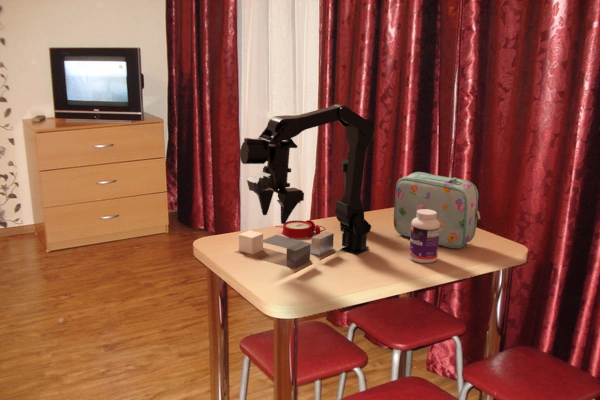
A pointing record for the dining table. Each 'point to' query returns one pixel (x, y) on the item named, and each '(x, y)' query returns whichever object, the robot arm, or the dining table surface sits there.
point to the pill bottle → (424, 237)
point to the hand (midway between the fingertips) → (273, 219)
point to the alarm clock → (300, 229)
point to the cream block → (251, 242)
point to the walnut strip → (285, 256)
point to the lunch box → (438, 206)
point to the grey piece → (317, 247)
